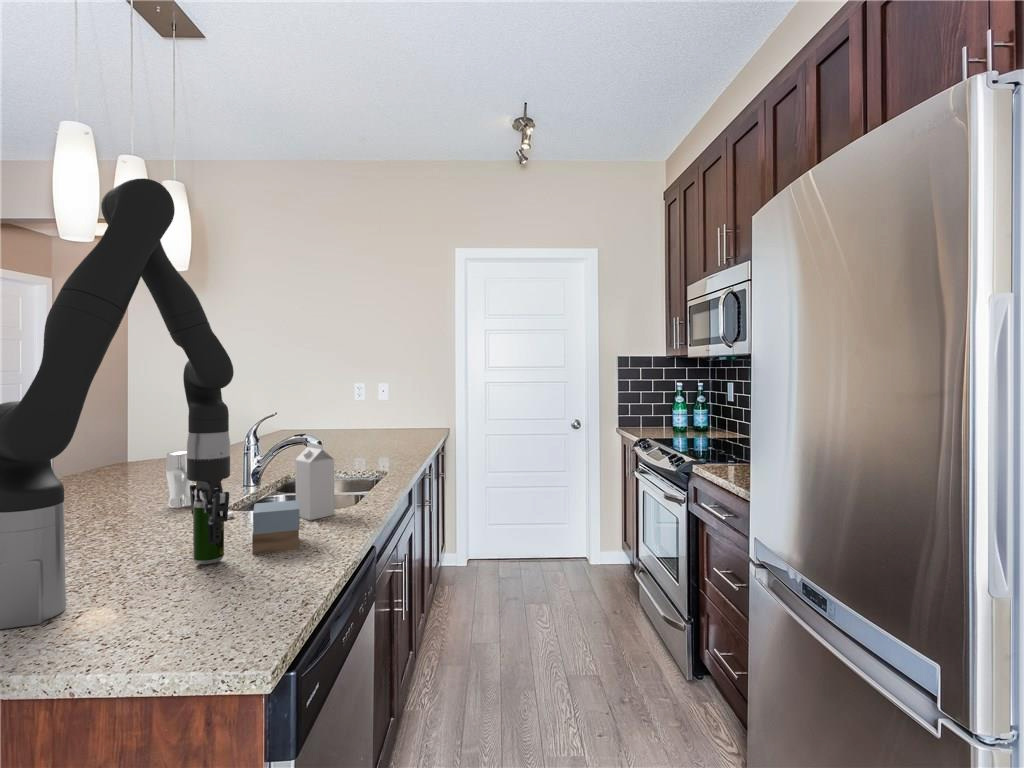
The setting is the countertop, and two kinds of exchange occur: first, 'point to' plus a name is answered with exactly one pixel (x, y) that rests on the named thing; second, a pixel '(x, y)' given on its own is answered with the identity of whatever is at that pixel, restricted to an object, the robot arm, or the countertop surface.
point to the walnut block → (275, 542)
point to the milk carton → (315, 483)
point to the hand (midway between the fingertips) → (208, 539)
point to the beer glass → (178, 480)
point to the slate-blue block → (276, 517)
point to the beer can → (204, 538)
